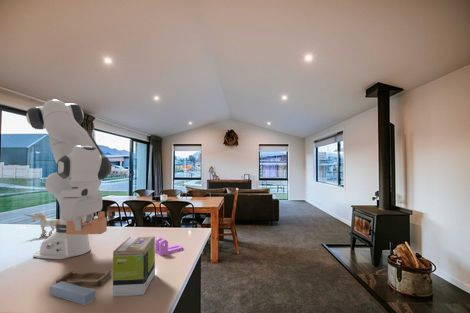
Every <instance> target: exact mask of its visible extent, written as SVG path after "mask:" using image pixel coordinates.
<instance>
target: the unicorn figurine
mask: <svg viewBox="0 0 470 313" xmlns="http://www.w3.org/2000/svg"><path fill="white" fill-rule="evenodd" d="M24 216H26V217H27V216H28V217H32V219H31V222H33V223H35V222H36V220H38V219H39V221H40V222H39V225H40V228H41V234H40V235H43V236H45V235H46V234H47V230H46V229H45V227H50V229H51V230H50V231H49V232H48V237H49V236H51V235H52V234H53V232H54V231H55V229H56V230H57V228H55V227H56V225H58V224H60V219H61V218H59V219H58V218H57V219H56V218H48V217H47V216H46V214H44V213H41V212H35V213H32V215H31V214H24ZM54 226H55V227H54ZM54 228H55V229H54ZM45 233H46V234H45Z"/></svg>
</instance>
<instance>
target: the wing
mask: <svg viewBox="0 0 470 313" xmlns="http://www.w3.org/2000/svg"><path fill="white" fill-rule="evenodd" d="M49 287H50V288H49V289H50V290H49V292H50V293H49V294H50V295H51V296H54V297H57V298H60V299H64V300H67V301H70V302H73V303H76V304H79V305H82V306H86V305H88V304H90V303H91V302H93V301H95V300H96V289H93V288H92V289H91V288H87V287H86V286H82V287H81V286H77V285H74V284H70V283H67V282H63V281H61V282H59V283H56V282H55V283H54V284H52V285H50V286H49Z"/></svg>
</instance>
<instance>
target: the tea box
mask: <svg viewBox="0 0 470 313" xmlns="http://www.w3.org/2000/svg"><path fill="white" fill-rule="evenodd" d="M155 241H156V237H155V236H136V237H135V236H134V237H131V236H129V237H128V238H126V240H125V241H124V242H122V243H121V244H120V245H119V246H118V247H116V248H115V250H113V252H112V296H113V297H131V296H143V295H145V293H146V291H147V289H148V287H149V285H150V284H151V282H152V281H153V278H154V277H155V274H156V273H155V272H156V262H155V261H156V253H155Z"/></svg>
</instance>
